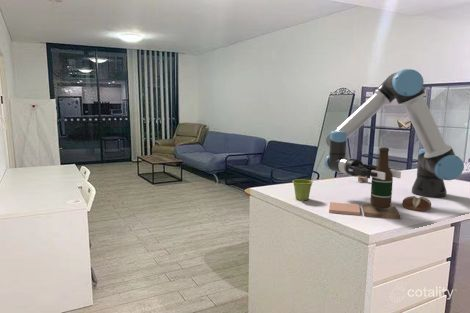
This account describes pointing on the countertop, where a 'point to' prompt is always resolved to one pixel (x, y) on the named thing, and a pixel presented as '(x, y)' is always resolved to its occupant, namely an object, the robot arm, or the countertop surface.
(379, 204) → the beer bottle
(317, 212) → the countertop surface
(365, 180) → the architectural model
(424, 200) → the bread
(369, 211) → the walnut board
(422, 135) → the robot arm
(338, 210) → the terracotta tile
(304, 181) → the plant pot
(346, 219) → the countertop surface
